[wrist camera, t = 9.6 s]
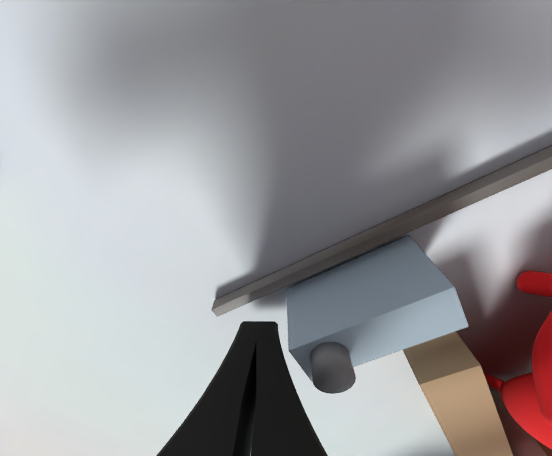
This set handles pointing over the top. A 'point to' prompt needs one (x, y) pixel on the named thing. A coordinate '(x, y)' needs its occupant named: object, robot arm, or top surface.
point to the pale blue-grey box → (368, 312)
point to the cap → (546, 372)
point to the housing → (445, 349)
